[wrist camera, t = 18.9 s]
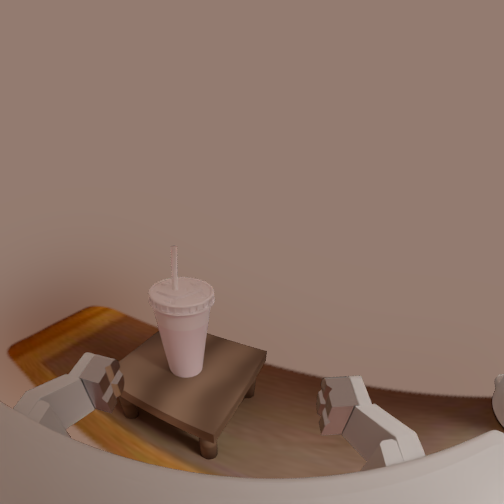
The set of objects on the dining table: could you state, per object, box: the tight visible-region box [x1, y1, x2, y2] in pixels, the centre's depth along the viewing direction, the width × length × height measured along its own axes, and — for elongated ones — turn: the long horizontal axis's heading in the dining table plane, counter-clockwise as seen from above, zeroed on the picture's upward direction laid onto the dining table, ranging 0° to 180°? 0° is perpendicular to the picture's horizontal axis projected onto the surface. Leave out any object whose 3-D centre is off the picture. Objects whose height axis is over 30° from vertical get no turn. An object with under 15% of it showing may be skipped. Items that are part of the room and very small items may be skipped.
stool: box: [118, 331, 267, 459], centre depth 30 cm, size 14×14×7 cm
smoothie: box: [149, 245, 215, 378], centre depth 27 cm, size 6×6×14 cm
